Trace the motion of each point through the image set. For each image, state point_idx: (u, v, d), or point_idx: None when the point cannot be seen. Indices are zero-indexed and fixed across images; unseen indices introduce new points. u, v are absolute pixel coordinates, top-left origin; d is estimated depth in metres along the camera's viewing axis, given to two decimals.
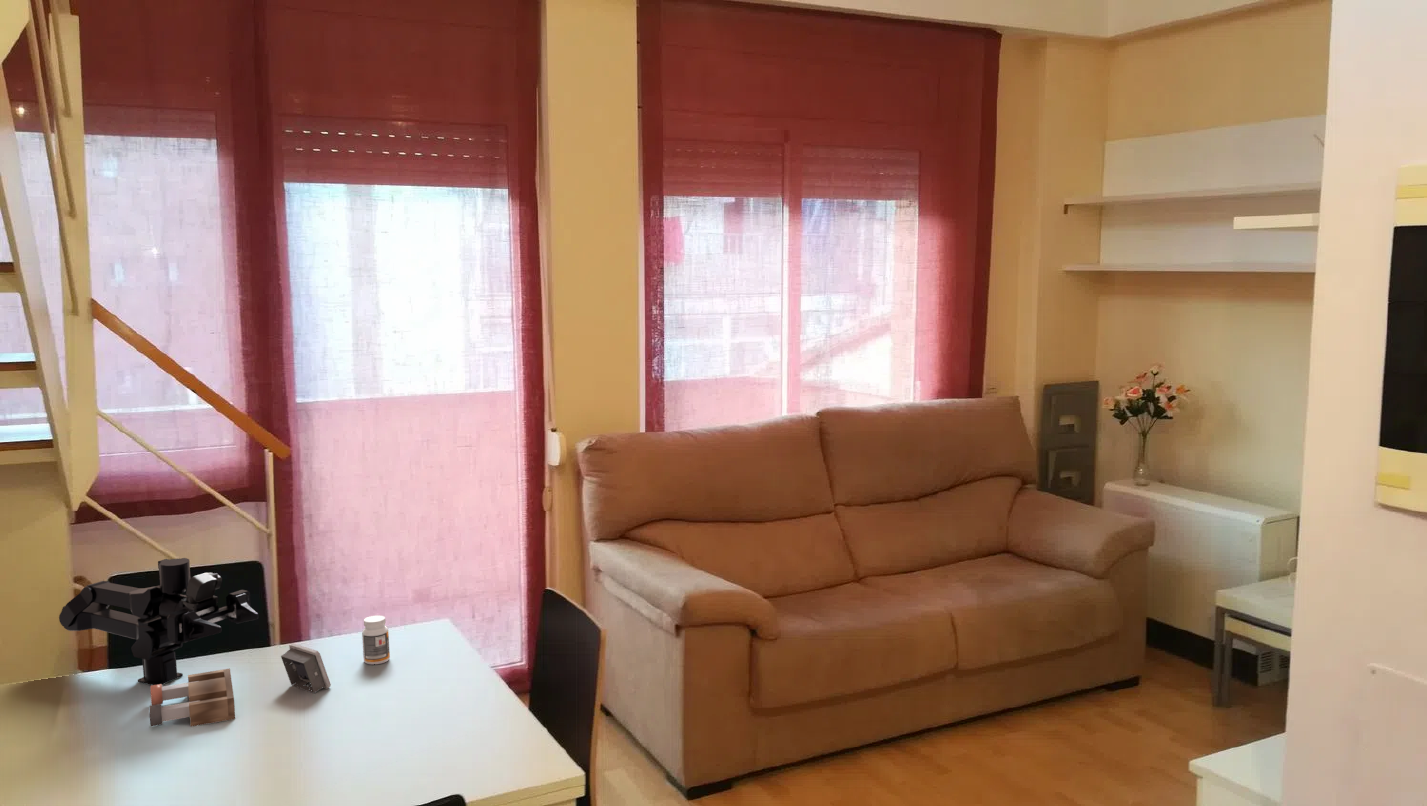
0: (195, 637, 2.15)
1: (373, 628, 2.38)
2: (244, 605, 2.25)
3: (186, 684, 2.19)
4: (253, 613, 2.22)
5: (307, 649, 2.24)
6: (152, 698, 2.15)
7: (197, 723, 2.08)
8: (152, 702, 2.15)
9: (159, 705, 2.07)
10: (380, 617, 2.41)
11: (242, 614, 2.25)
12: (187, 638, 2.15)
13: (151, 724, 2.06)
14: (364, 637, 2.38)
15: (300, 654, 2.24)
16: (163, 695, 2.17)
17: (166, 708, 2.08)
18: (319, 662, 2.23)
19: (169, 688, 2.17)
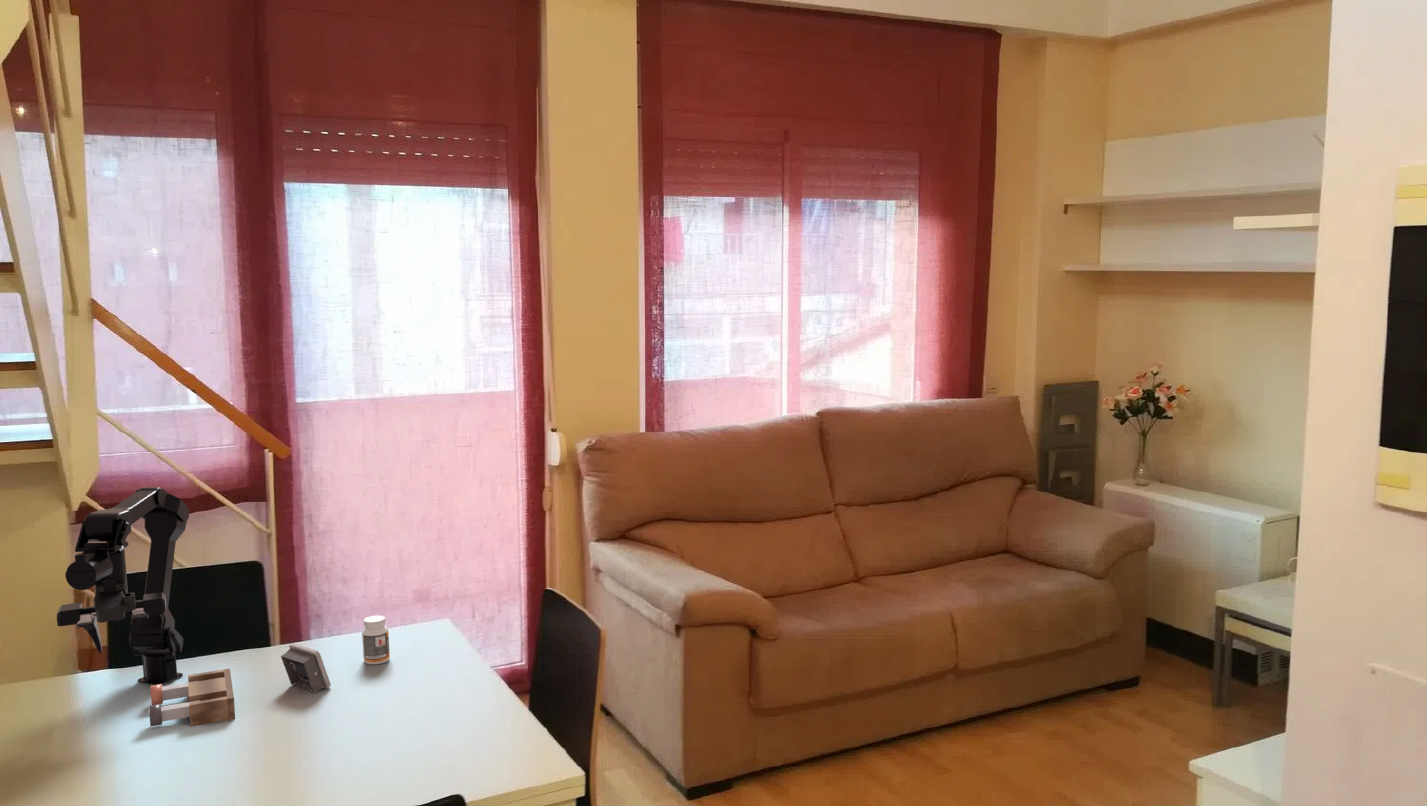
0: None
1: (373, 628, 2.38)
2: (133, 627, 2.12)
3: (186, 684, 2.19)
4: (130, 644, 2.13)
5: (307, 649, 2.24)
6: (152, 698, 2.15)
7: (197, 723, 2.08)
8: (152, 702, 2.15)
9: (159, 705, 2.07)
10: (380, 617, 2.41)
11: None
12: None
13: (151, 724, 2.06)
14: (364, 637, 2.38)
15: (300, 654, 2.24)
16: (163, 695, 2.17)
17: (166, 708, 2.08)
18: (319, 662, 2.23)
19: (169, 688, 2.17)
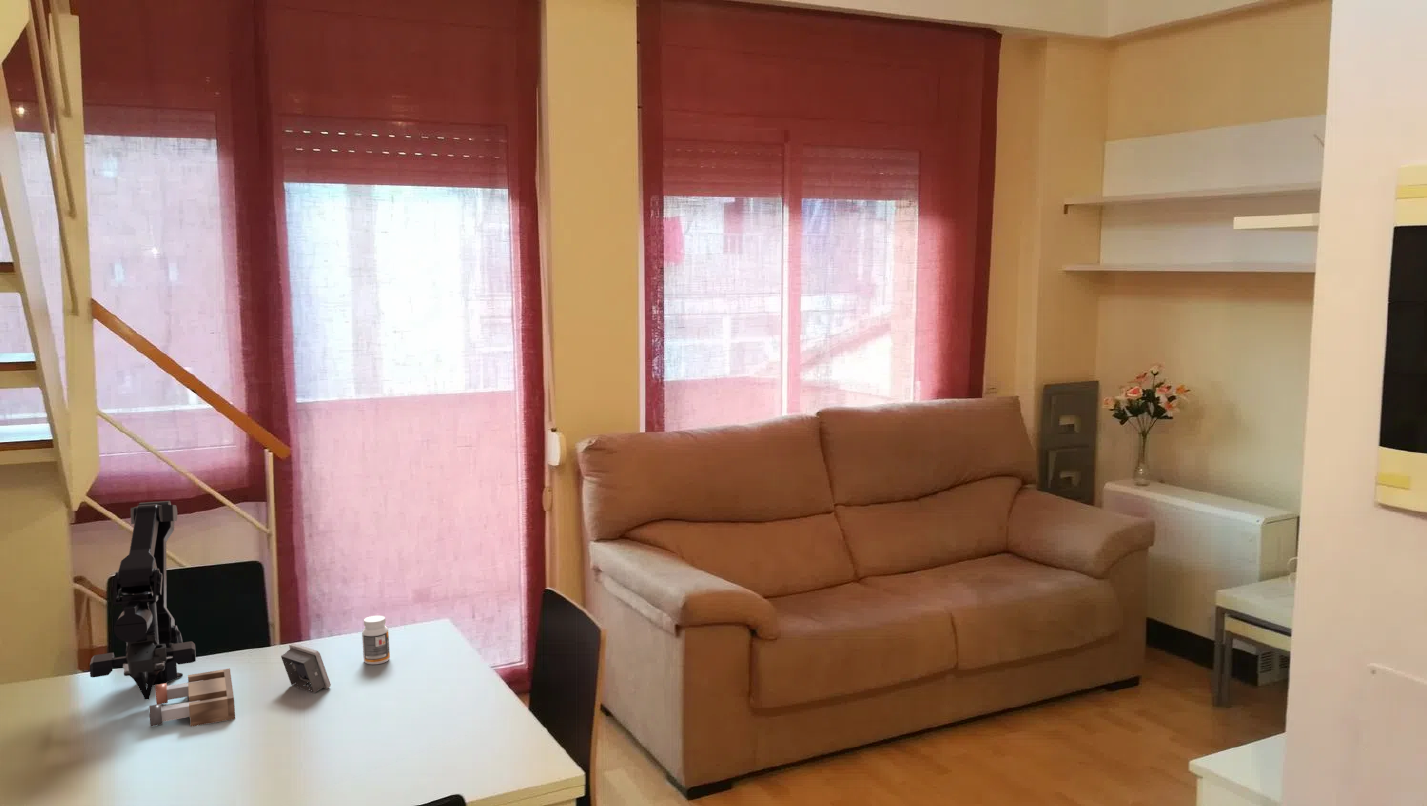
0: None
1: (373, 628, 2.38)
2: (150, 679, 2.15)
3: None
4: None
5: (307, 649, 2.24)
6: (157, 697, 2.15)
7: (197, 723, 2.08)
8: (157, 701, 2.16)
9: (159, 705, 2.07)
10: (380, 617, 2.41)
11: None
12: None
13: (151, 724, 2.06)
14: (364, 637, 2.38)
15: (300, 654, 2.24)
16: (168, 694, 2.17)
17: (166, 708, 2.08)
18: (319, 662, 2.23)
19: (174, 687, 2.18)
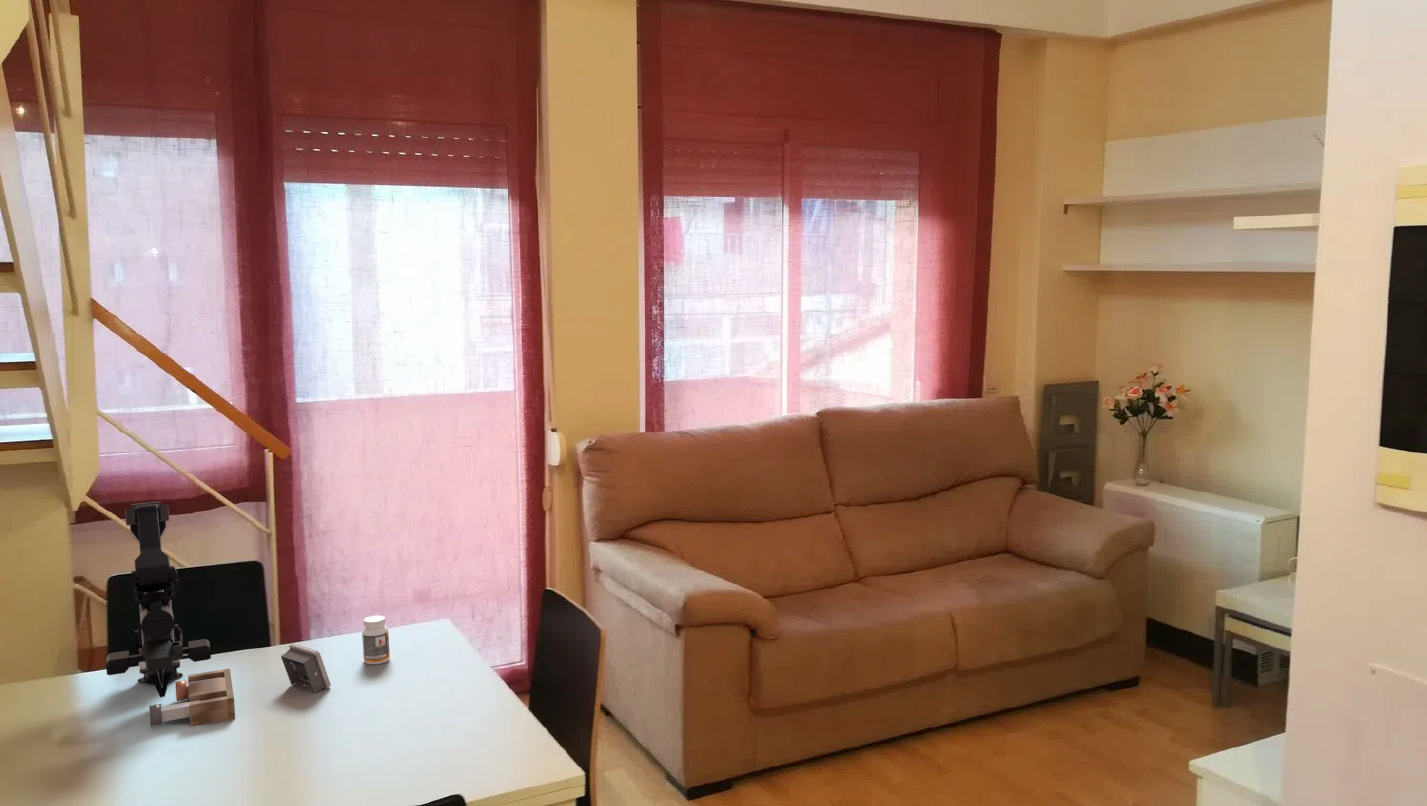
0: None
1: (373, 628, 2.38)
2: (165, 677, 2.16)
3: None
4: None
5: (307, 649, 2.24)
6: (177, 694, 2.17)
7: (197, 723, 2.08)
8: (177, 698, 2.17)
9: (159, 705, 2.07)
10: (380, 617, 2.41)
11: None
12: None
13: (151, 724, 2.06)
14: (364, 637, 2.38)
15: (300, 654, 2.24)
16: (188, 691, 2.19)
17: (166, 708, 2.08)
18: (319, 662, 2.23)
19: None
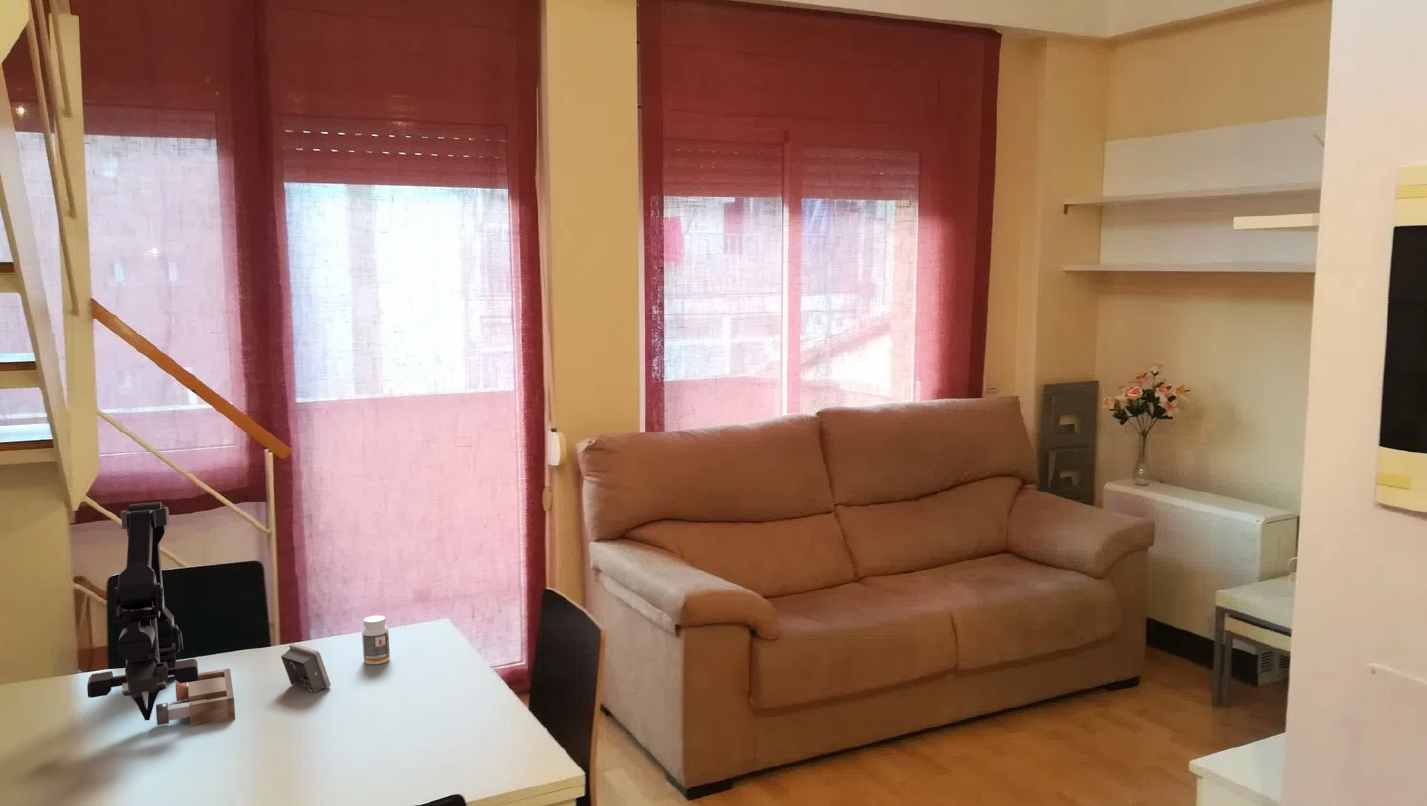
0: None
1: (373, 628, 2.38)
2: (150, 699, 2.05)
3: None
4: None
5: (307, 649, 2.24)
6: (177, 694, 2.17)
7: (197, 723, 2.08)
8: (177, 698, 2.17)
9: (166, 704, 2.08)
10: (380, 617, 2.41)
11: None
12: None
13: (158, 723, 2.06)
14: (364, 637, 2.38)
15: (300, 654, 2.24)
16: (188, 691, 2.19)
17: (172, 707, 2.08)
18: (319, 662, 2.23)
19: None
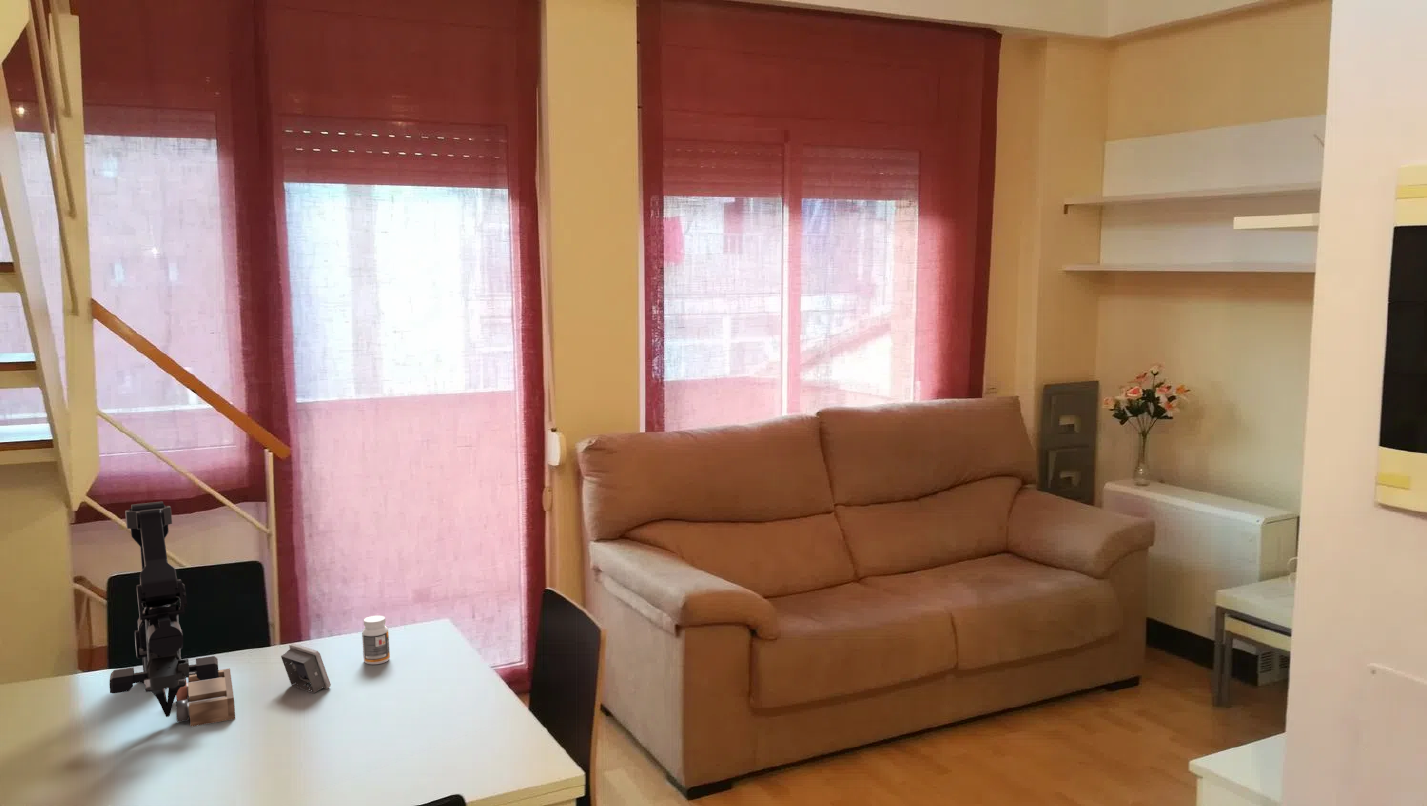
0: None
1: (373, 628, 2.38)
2: (170, 695, 2.07)
3: None
4: None
5: (307, 649, 2.24)
6: (177, 694, 2.17)
7: (197, 723, 2.08)
8: (177, 698, 2.17)
9: (185, 701, 2.09)
10: (380, 617, 2.41)
11: None
12: None
13: (178, 719, 2.08)
14: (364, 637, 2.38)
15: (300, 654, 2.24)
16: (188, 691, 2.19)
17: None
18: (319, 662, 2.23)
19: None
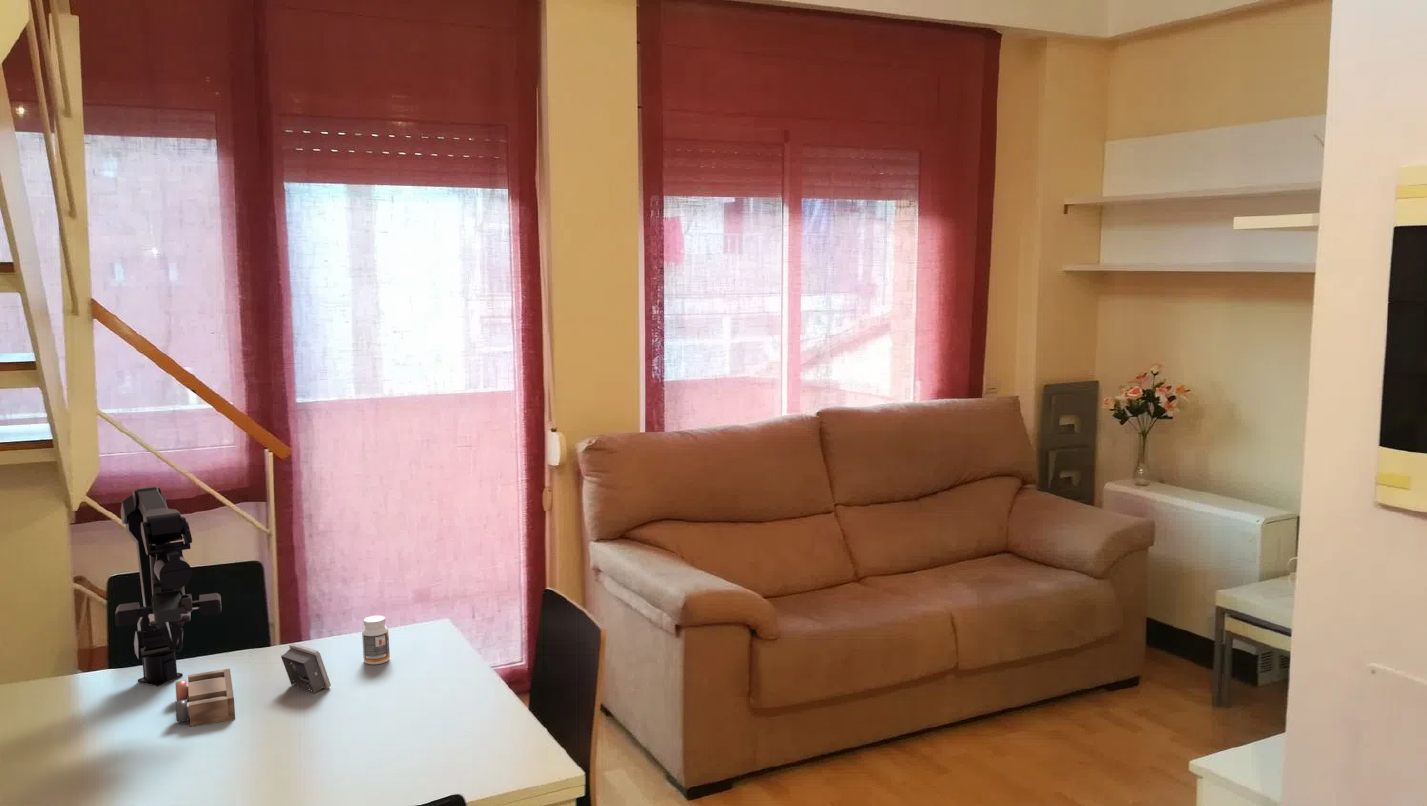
0: None
1: (373, 628, 2.38)
2: (175, 630, 2.12)
3: None
4: None
5: (307, 649, 2.24)
6: (177, 694, 2.17)
7: (197, 723, 2.08)
8: (177, 698, 2.17)
9: (185, 701, 2.09)
10: (380, 617, 2.41)
11: None
12: None
13: (177, 719, 2.08)
14: (364, 637, 2.38)
15: (300, 654, 2.24)
16: (188, 691, 2.19)
17: None
18: (319, 662, 2.23)
19: None
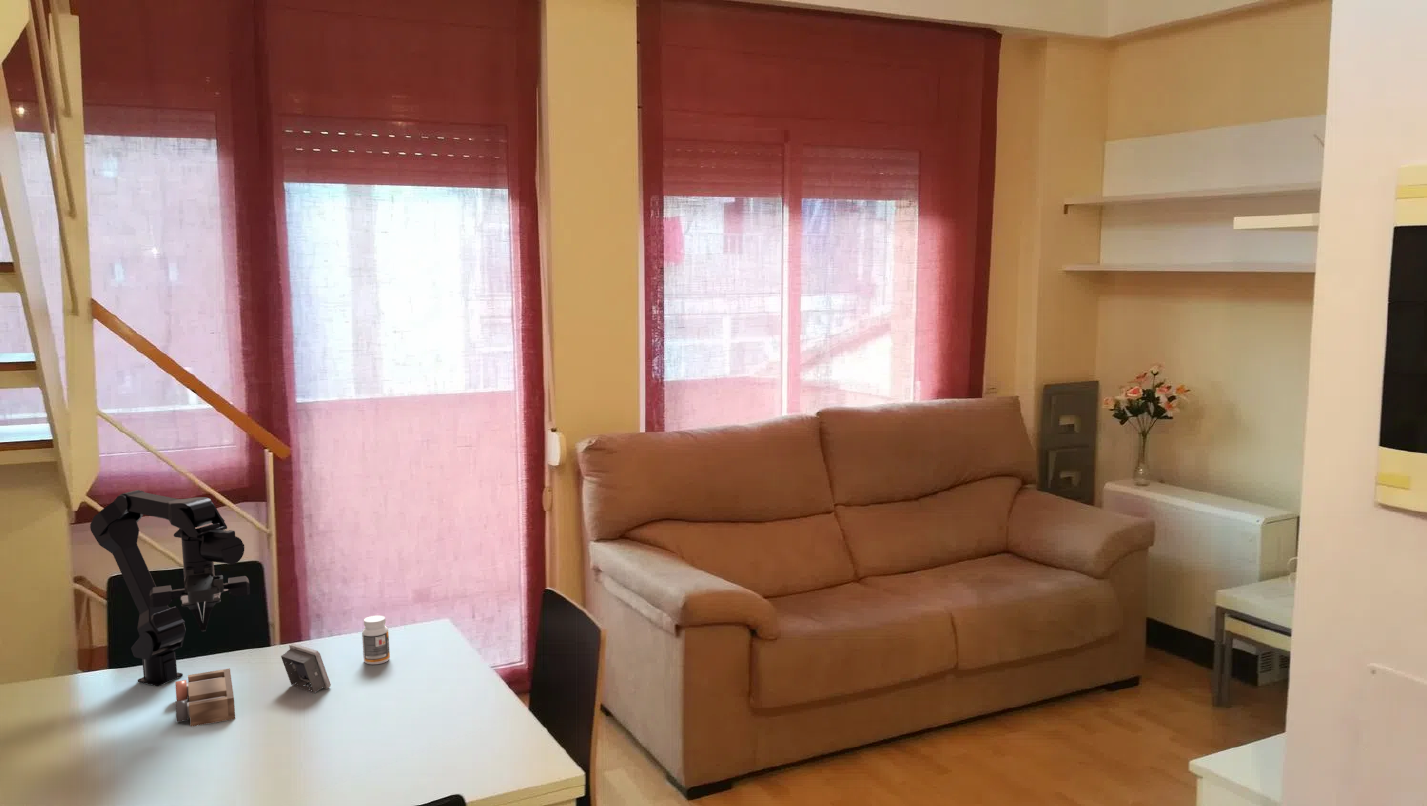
0: None
1: (373, 628, 2.38)
2: (206, 611, 2.22)
3: None
4: None
5: (307, 649, 2.24)
6: (177, 694, 2.17)
7: (197, 723, 2.08)
8: (177, 698, 2.17)
9: (185, 701, 2.09)
10: (380, 617, 2.41)
11: None
12: None
13: (177, 719, 2.08)
14: (364, 637, 2.38)
15: (300, 654, 2.24)
16: (188, 691, 2.19)
17: None
18: (319, 662, 2.23)
19: None
